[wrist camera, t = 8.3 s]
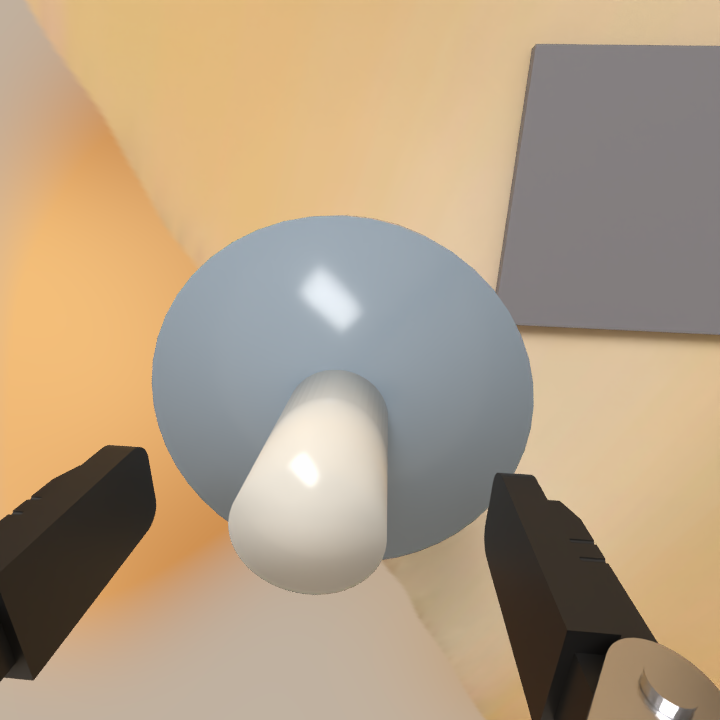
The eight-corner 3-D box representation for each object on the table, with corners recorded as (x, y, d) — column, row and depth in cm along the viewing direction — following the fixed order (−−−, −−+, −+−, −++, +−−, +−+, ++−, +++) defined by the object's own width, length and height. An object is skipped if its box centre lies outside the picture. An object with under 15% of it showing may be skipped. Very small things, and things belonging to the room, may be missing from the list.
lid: (550, 223, 12) (725, 234, 6) (490, 543, 16) (552, 748, 10) (152, 207, 12) (-77, 202, 6) (194, 519, 17) (80, 698, 10)
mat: (830, 52, 19) (843, 47, 19) (727, 332, 24) (736, 335, 24) (531, 48, 20) (536, 44, 19) (491, 321, 25) (493, 323, 24)
